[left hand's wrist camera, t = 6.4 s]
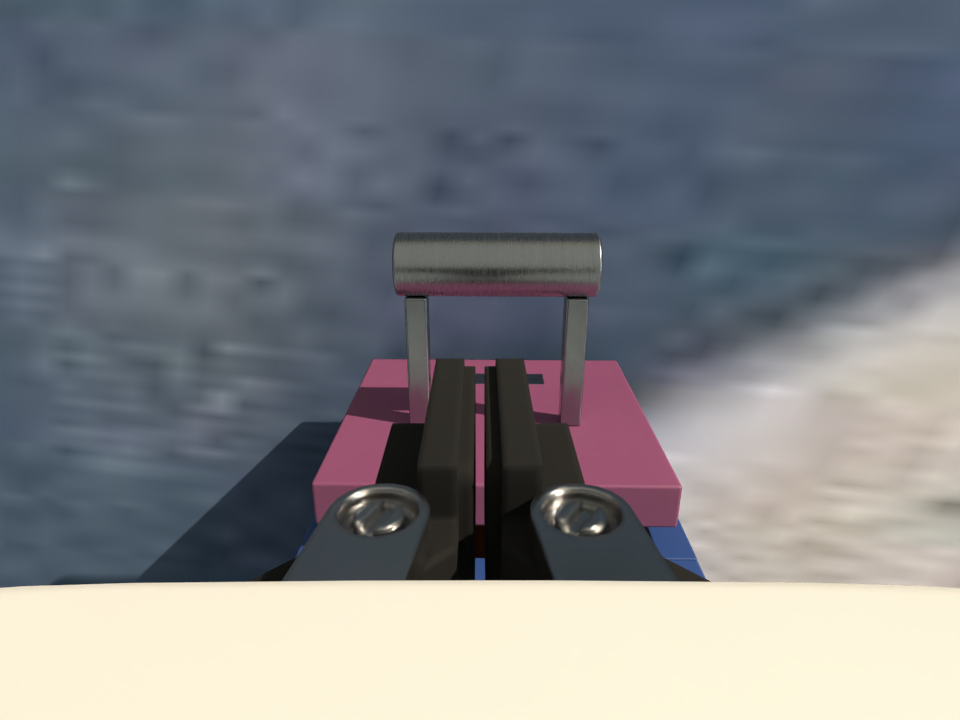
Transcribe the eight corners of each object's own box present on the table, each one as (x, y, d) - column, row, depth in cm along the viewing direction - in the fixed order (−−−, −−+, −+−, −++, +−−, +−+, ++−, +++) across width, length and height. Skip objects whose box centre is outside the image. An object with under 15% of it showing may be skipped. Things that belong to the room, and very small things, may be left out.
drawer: (362, 207, 21) (285, 259, 13) (629, 207, 21) (713, 261, 13) (395, 717, 30) (360, 936, 22) (586, 720, 29) (622, 942, 21)
